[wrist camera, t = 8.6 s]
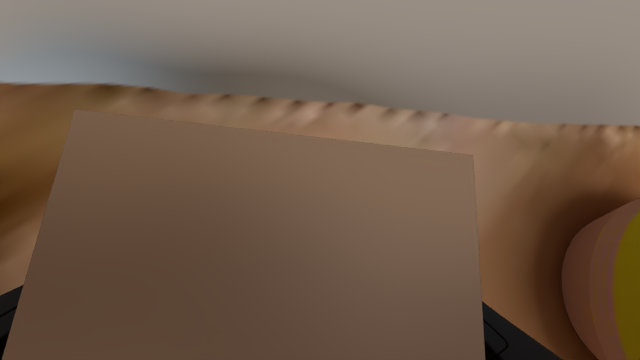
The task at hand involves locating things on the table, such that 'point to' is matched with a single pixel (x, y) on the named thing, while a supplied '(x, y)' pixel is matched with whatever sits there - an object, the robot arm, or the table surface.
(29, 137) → the table surface
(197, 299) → the post
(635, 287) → the vase
